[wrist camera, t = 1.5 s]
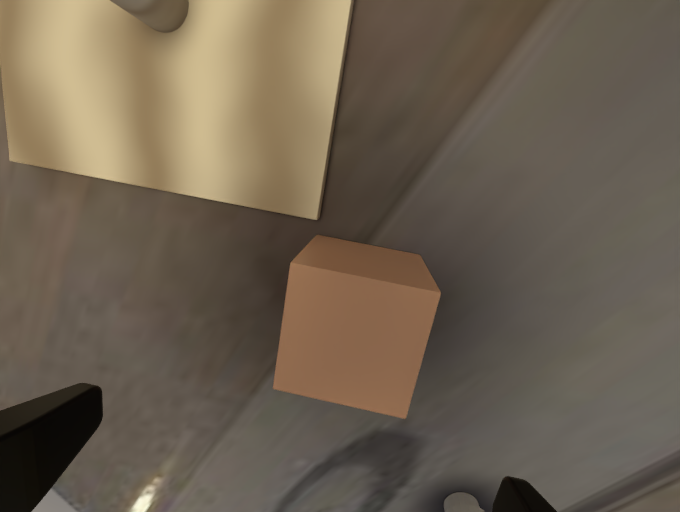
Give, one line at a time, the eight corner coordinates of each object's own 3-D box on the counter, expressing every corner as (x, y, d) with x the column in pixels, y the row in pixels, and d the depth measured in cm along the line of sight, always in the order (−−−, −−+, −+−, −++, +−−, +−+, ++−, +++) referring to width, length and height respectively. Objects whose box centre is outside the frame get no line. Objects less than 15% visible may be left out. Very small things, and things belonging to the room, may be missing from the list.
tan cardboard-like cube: (419, 254, 18) (441, 292, 12) (396, 346, 20) (405, 419, 14) (316, 234, 18) (290, 262, 13) (302, 326, 20) (272, 388, 14)
